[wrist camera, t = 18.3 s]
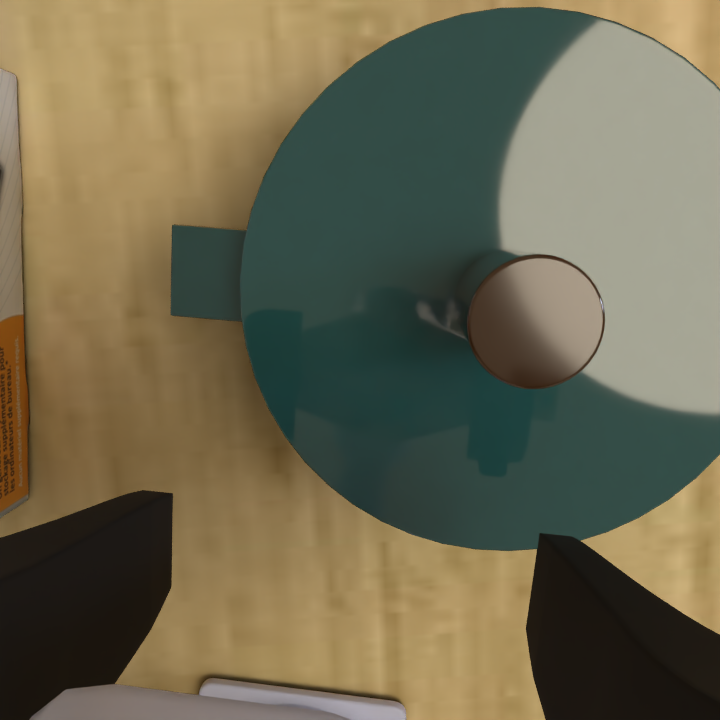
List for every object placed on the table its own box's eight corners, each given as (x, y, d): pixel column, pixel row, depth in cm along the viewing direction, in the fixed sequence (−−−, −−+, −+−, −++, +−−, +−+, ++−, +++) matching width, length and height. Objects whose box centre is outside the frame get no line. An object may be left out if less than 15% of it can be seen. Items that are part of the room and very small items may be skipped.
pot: (713, 475, 22) (819, 561, 16) (222, 426, 23) (157, 490, 17) (784, 112, 20) (937, 61, 14) (233, 79, 21) (163, 19, 15)
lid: (714, 557, 17) (837, 690, 12) (241, 506, 18) (173, 610, 13) (817, 37, 14) (1029, -67, 9) (261, 8, 15) (186, -101, 10)
